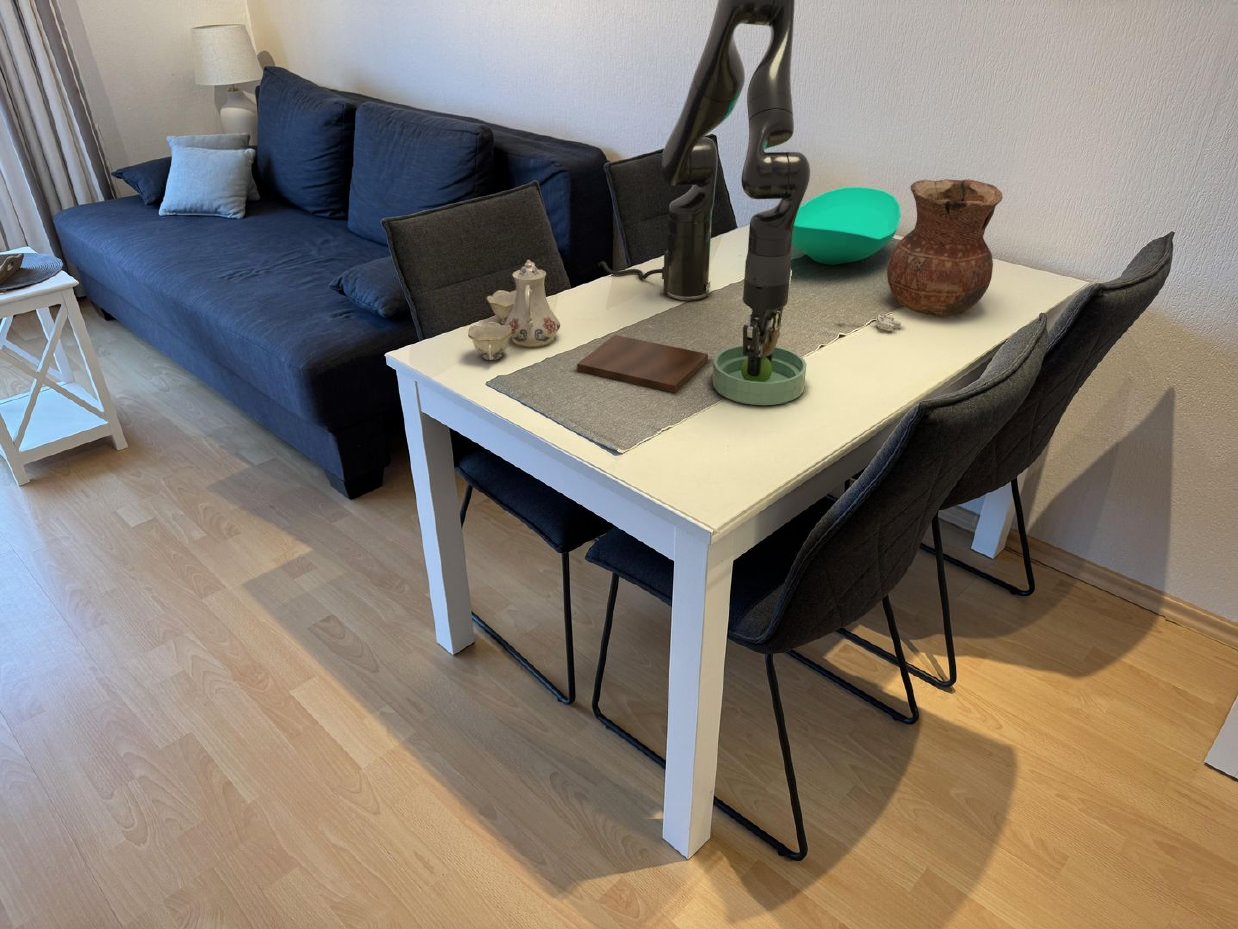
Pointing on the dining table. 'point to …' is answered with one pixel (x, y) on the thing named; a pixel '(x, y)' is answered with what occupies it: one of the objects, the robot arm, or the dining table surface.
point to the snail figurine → (763, 359)
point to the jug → (945, 248)
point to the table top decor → (846, 224)
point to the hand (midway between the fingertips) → (759, 367)
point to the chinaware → (517, 316)
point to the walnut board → (643, 363)
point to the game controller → (886, 322)
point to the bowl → (775, 390)
